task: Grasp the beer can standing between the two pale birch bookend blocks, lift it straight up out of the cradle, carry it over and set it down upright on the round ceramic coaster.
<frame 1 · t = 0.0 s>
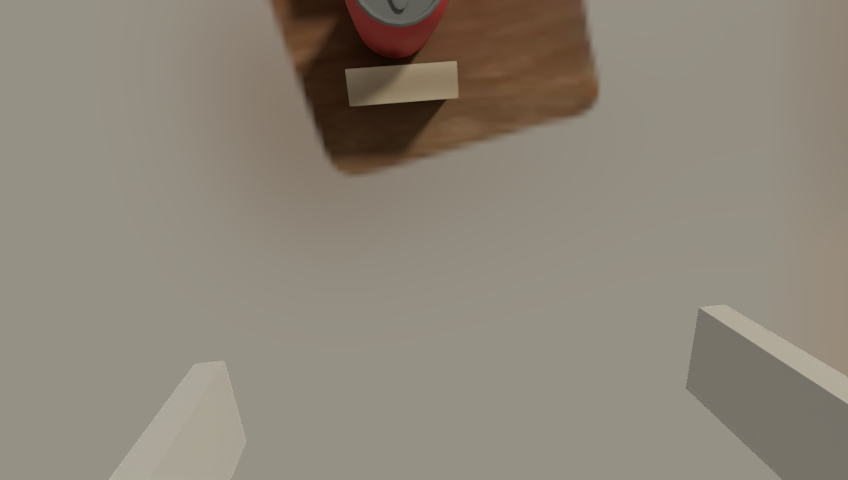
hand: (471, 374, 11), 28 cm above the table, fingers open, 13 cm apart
cradle: (394, 15, 33), on the table
beer can: (394, 16, 33), on the table
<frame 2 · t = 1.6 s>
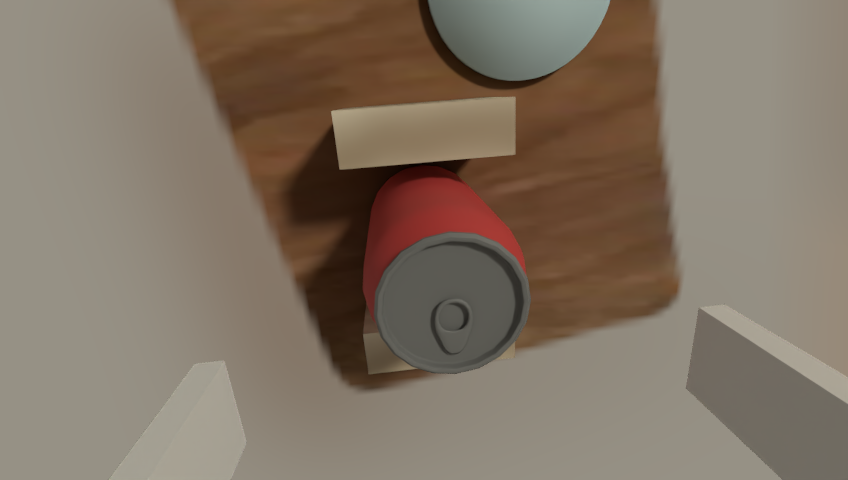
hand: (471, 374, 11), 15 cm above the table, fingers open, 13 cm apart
cradle: (423, 216, 25), on the table
beer can: (423, 215, 26), on the table
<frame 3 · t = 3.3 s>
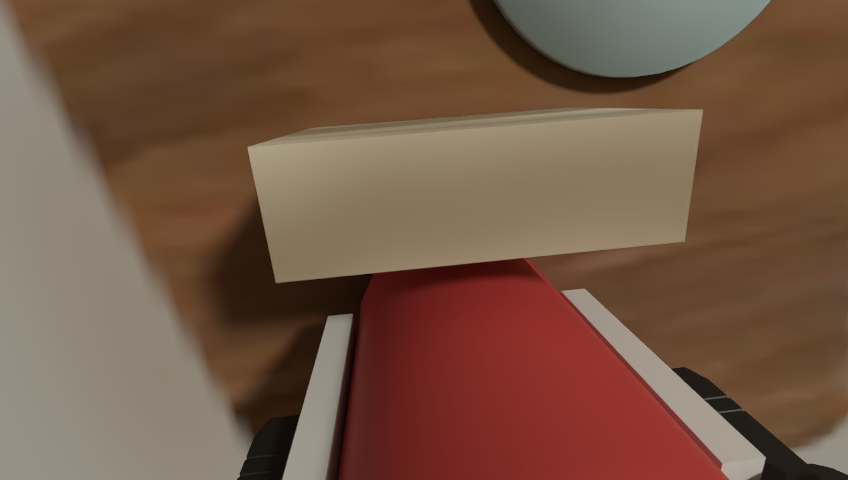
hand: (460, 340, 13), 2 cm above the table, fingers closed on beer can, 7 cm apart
cradle: (451, 309, 15), on the table
beer can: (450, 307, 15), on the table, touching gripper
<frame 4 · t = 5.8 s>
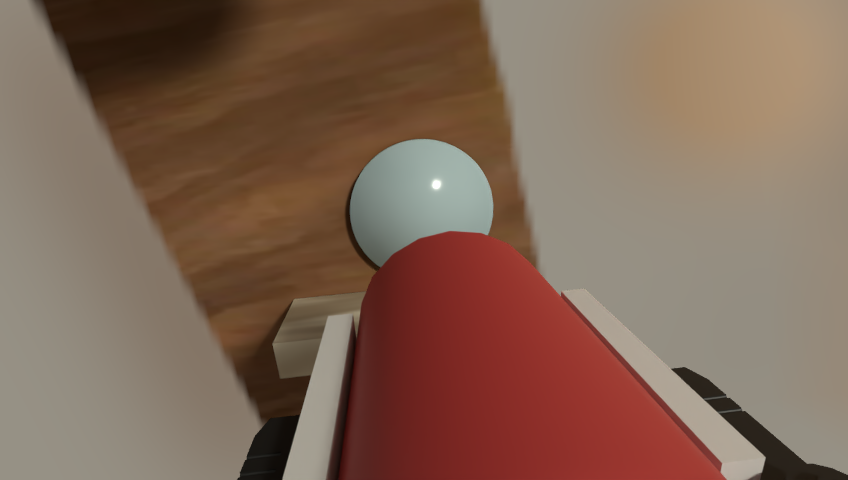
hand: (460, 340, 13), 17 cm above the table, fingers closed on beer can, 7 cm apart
cradle: (359, 369, 32), on the table
coaster: (421, 211, 29), on the table
beer can: (450, 308, 15), point 15 cm above the table, touching gripper
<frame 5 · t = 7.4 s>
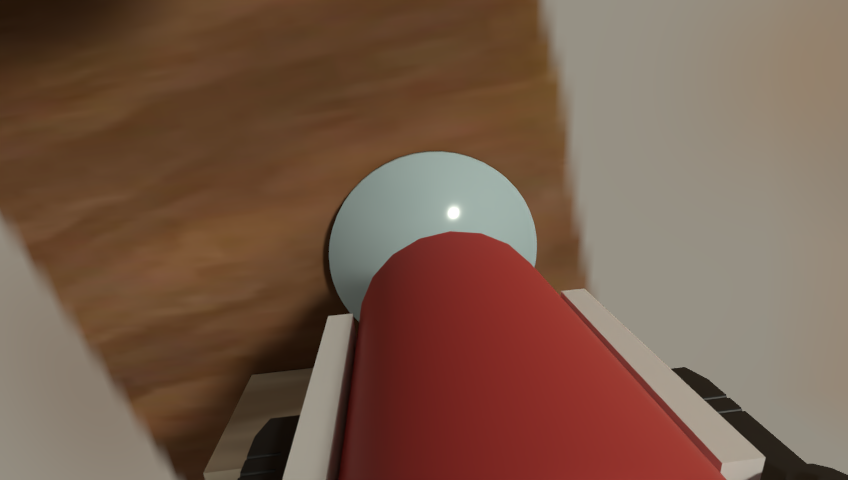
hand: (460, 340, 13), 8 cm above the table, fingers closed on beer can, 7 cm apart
cradle: (345, 463, 24), on the table
coaster: (433, 253, 20), on the table
beer can: (450, 309, 15), point 5 cm above the table, touching gripper
when the fingers open (4 cm above the table, at t = 8.5 s): beer can drops 2 cm, resting on coaster.
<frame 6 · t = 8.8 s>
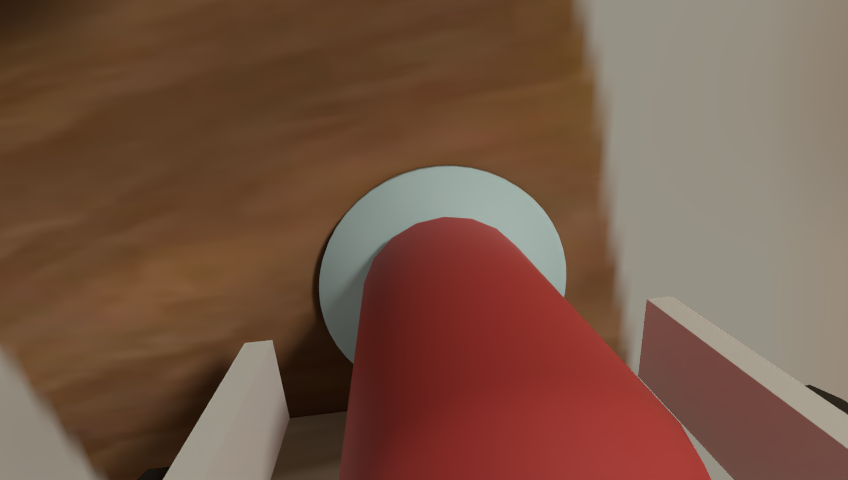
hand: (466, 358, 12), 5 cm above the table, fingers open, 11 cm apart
coaster: (443, 285, 17), on the table
beer can: (445, 289, 17), resting on coaster
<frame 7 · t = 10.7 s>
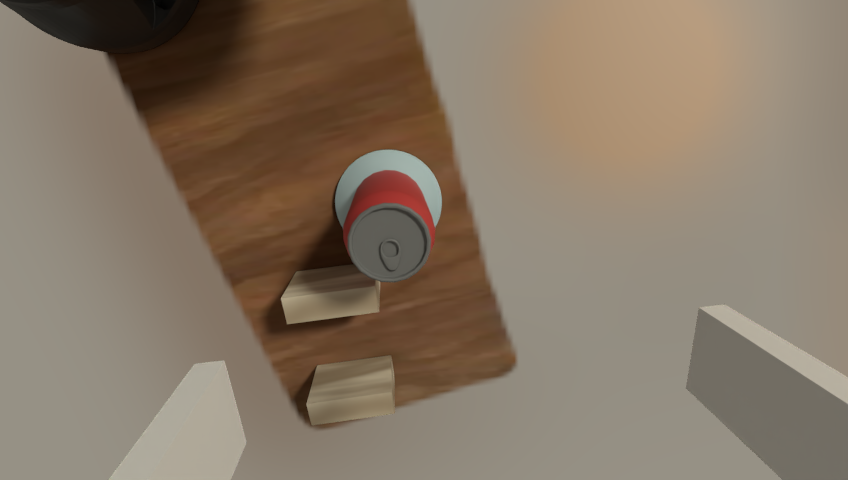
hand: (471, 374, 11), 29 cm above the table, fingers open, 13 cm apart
cradle: (347, 325, 43), on the table
coaster: (389, 202, 39), on the table
beer can: (389, 203, 38), resting on coaster
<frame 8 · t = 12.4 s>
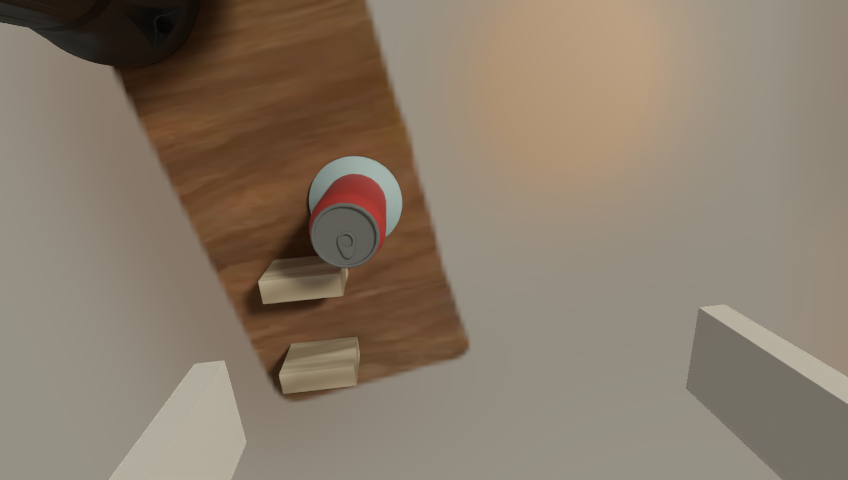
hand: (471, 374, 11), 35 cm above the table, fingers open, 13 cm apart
cradle: (319, 309, 48), on the table
coaster: (356, 202, 45), on the table
beer can: (356, 202, 44), resting on coaster
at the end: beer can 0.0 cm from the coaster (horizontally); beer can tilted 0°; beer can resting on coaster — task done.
